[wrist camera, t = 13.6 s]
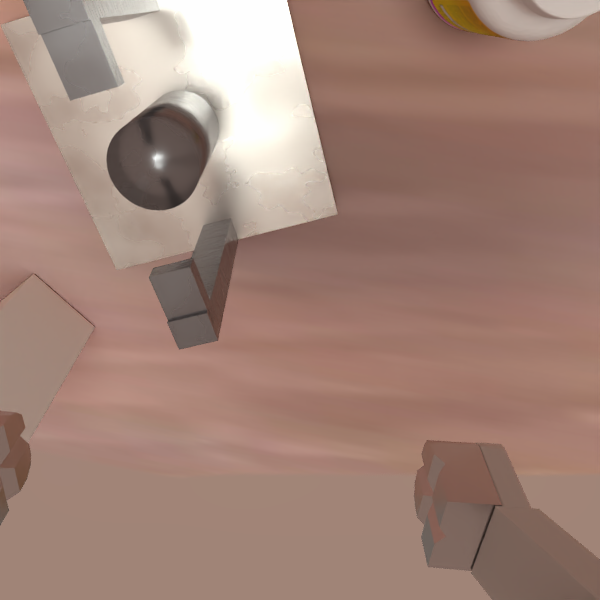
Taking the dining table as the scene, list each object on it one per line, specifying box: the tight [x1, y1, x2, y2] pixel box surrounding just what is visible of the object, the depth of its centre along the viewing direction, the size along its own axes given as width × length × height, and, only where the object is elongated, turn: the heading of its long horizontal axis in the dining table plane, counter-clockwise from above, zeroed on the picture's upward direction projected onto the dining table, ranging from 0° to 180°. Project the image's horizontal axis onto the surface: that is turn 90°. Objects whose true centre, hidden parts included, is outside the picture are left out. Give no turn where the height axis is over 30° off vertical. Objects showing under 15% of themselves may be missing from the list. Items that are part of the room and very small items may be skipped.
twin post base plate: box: [1, 0, 338, 349], centre depth 29 cm, size 16×16×14 cm
